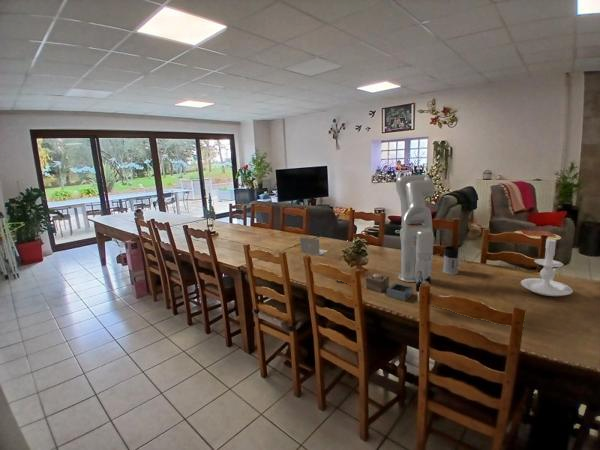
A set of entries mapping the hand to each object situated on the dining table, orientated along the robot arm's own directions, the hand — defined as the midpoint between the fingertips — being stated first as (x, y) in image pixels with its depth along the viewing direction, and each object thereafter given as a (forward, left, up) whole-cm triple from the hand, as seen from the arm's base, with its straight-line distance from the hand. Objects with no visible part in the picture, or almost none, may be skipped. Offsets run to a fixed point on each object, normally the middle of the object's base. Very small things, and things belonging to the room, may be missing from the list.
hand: (423, 288), depth 154 cm
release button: (-2, -26, -6) cm, 27 cm away
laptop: (-35, -98, -7) cm, 104 cm away
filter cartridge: (0, 0, -7) cm, 7 cm away
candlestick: (-46, +45, -7) cm, 65 cm away
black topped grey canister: (-46, +1, -7) cm, 47 cm away
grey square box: (-2, -26, -7) cm, 27 cm away
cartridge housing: (0, -12, -7) cm, 14 cm away
